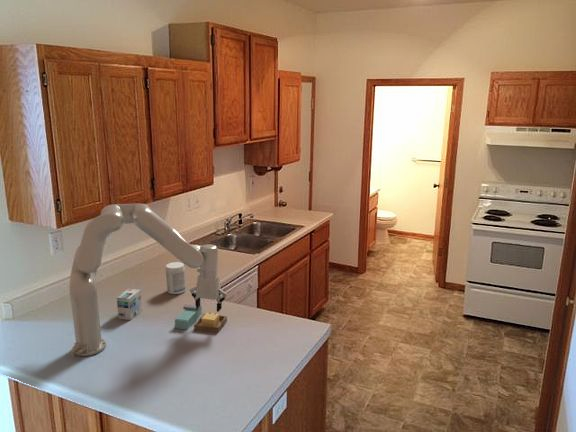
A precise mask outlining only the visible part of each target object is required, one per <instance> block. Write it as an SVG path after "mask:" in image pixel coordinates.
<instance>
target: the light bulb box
mask: <svg viewBox="0 0 576 432" xmlns="http://www.w3.org/2000/svg"><path fill="white" fill-rule="evenodd" d="M142 304H143V303H142V291H141V289H135V288H133V289H132V288H127V289H126V290H124V291H123V292H122V293H120V295H118V296H117V297H116V305H117V317H118V319H120V320H128V321H132V320H133V319H134V318H136V317H137V315H139V314H140V313H141V312H142V311H143V305H142Z"/></svg>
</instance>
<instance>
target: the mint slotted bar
mask: <svg viewBox="0 0 576 432" xmlns="http://www.w3.org/2000/svg"><path fill="white" fill-rule="evenodd" d="M202 308H203V307H202V305H200V307H199V308H198V309H196V306H195V304H184V306H183V309H182V311H181V312H180V314H178V316H177V317H176V318H175V319H174V328H175V329H181V330H189V329H190V328H191V326H193V325H194V324H195V323H196V322H197V321H198V320H199V318H200V317H201V316H202V315H203V309H202Z"/></svg>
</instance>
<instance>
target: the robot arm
mask: <svg viewBox="0 0 576 432" xmlns="http://www.w3.org/2000/svg"><path fill="white" fill-rule="evenodd" d="M127 224H129V225H130V224H134V225H135V226H136V227H137V228H139V229H140V230H141V231H143V232H144V233H145V234H146V235H148V236H149V237H150V238H152V239H153V240H154V241H156V242H157V243H158V244H159V245H161V247H163V248H164V249H165V250H166V251H168V252H169V253H170V254H172V255H173V257H175V258H176V259H178V260H179V262H181V263H183V264H184V266H187V267H188V268H191V269H196V271H197V273H199V274H198V276H197V279H196V286H195V287H191V288H190V289H189V292H190V294H191V296H192V298H194V301H195V303H194V305H195V306H196V309H198V308H199V307H200V306H201V299H205V300H210V301H211V300H212V301H215V300H216V302H217V303H216V312H217V313H219V312H220V311H221V310H222V305H223V304H222V303H223V302H224V301H225V299H227V297H228V292H226V291H224V290H222V289H221V281H220V276H219V274H218V271H219V269H218V265H219V262H218V261H219V254H218V253H219V248H218V247H217V245H215V244H212V243H211V244H210V243H209V244H202V245H201V244H191V243H188V241H186V240H185V238H183V237H182V236H181V235H180V233H179V232H178V231H177V230H176V229H175V227H173V226H172V225H171V224H169V223H168V222H167V221H166V220H164V219H163V218H162V217H161V216H159V215H158V214H157V213H155V212H154V211H153V210H152V209H151V208H150V206H149V205H148V204H146V203H139V202H138V203H115V204H108V205H106V206H104V207H103V208H102V209H101V212H100V215H98V216H95V217H94V218H93V219H91V220H90V221H89V223H87V225H86V226H85V228H84V230H83V234H82V237H81V240H80V245H79V246H78V247H77V248H76V249H75V253H74V257H73V262H72V265H71V272H70V277H69V297H70V298H69V299H70V303H71V313H72V323H73V331H74V339H75V343H73V344H74V345H73V346H72V348H71V350H69V351H68V354H69V355H70V356H74V355H75V356H79V357H90V356H93V355H96V354H99V353H100V352H101V353H102V351H103V350H105V348H106V347H107V342H106V341H105V340H104V339H102V333H101V332H102V331H101V323H100V310H99V301H98V300H99V299H98V287H97V281H96V280H97V279H96V277H97V271H98V269H99V268H100V266H101V264H102V261H103V260H102V259H103V253H104V249H105V245H106V242H107V241H106V240H107V237H108V236H110V235H111V234H113V233H115V232H117V231H119V230H121V229H122V228H123V227H124V225H127ZM221 295H222V297H221Z"/></svg>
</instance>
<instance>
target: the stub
mask: <svg viewBox="0 0 576 432" xmlns="http://www.w3.org/2000/svg"><path fill="white" fill-rule="evenodd" d="M204 314H205V315H204V316H203V317H202V318H201V319H202V325H205V326H214V327H216V326H217V324H218V323H219V315H220V314H219V313H213V312H206V313H204Z"/></svg>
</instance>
